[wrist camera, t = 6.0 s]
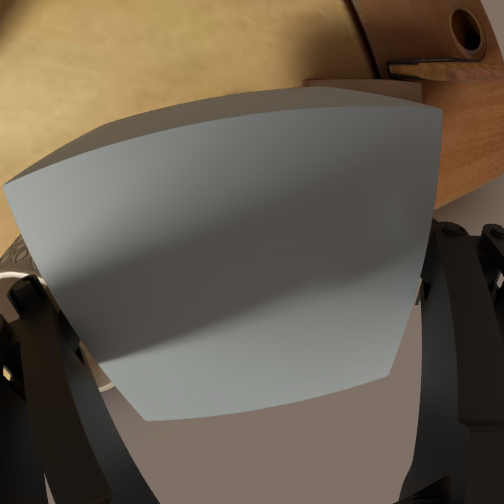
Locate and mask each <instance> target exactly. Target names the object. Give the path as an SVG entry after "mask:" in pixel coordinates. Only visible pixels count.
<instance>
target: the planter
mask: <svg viewBox="0 0 504 504" xmlns="http://www.w3.org/2000/svg"><path fill="white" fill-rule="evenodd" d="M32 274H34V275H37V277H38V279H39V281H40V283H41V284H42V286H43V288H44V290H45V289H46V287H47V285H46V283H45V281H44V279H43V277H42V275H41V274H40V272H39V270H38V268H37V266H36V264H35V262H34V260H33V258H32V256H31V254H30V252H29V250H28V248H27V246H26V243H25V241H24V239H23V237H22V235H21V234H20V235H19V236H18V237H17V239H16V240H15V241H14V242H13V243H12V245H11V246H10V247H9V248H8V249H7V251H6V252H5V253H4V254H3V255H2V257H1V258H0V314H2V315H3V316H4V318H5V319H6V321H7V322H8V323H10V322H12V321H14V320H17V319H19V315H18V313H17V312H16V310H15V309H14V307H13V305H12V304H11V302H10V301H9V299H8V297H7V293H8V291H9V289H10V288H11V286H12V285H13V284H15V283H16V282H17V281H18V280H20V279H21V278H23V277H25V276H27V275H32ZM79 345H80V346H81V348H82V349H83V351H84V352H85V355H86V358H87V361H88V363H89V366H90V369H91V371H92V374H93V377H94V379H95V382H96V384H97V387H98V389H99V391H100V392H101V391H105V390H107V389H110V388H112V387H114V386H115V385H114V384H113V383H112V381H111V380H110V379H109V378H108V376H107V375H106V374H105V372H104V371H103V370H102V369H101V367H100V366H99V365H98V363H97V362H96V361H95V359H94V358H93V357H92V355H91V354H90V352H89V351H88V350H87V348H86V347H85V345H84V344H83V342H82V341H81V340H80V343H79Z"/></svg>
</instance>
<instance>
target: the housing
mask: <svg viewBox="0 0 504 504" xmlns="http://www.w3.org/2000/svg"><path fill="white" fill-rule="evenodd" d="M441 137H442V109H440V108H436V107H432V106H429V105H425V104H421V103H417V102H413V101H408V100H404V99H399V98H394V97H390V96H384V95H379V94H374V93H368V92H362V91H355V90H348V89H341V88H333V87H324V86H321V87H300V88H286V89H275V90H265V91H256V92H248V93H240V94H233V95H227V96H220V97H214V98H209V99H203V100H198V101H193V102H188V103H183V104H178V105H174V106H169V107H165V108H161V109H157V110H153V111H149V112H145V113H141V114H137V115H134V116H130V117H127V118H123V119H120V120H116V121H113V122H110V123H107V124H104V125H102V126H100V127H98V128H96V129H94V130H92V131H90V132H88V133H86V134H84V135H82V136H81V137H79V138H77V139H75V140H73V141H71V142H70V143H68V144H66V145H64V146H63V147H61V148H59V149H57V150H56V151H54V152H52V153H51V154H49V155H47V156H46V157H44V158H42V159H41V160H39V161H38V162H36V163H35V164H33V165H31V166H30V167H28V168H27V169H25V170H24V171H22V172H21V173H19V174H18V175H17V176H15V177H14V178H12V179H11V180H9V181H8V182H7V183H5V184H4V185H3V186H2V187H3V190H4V193H5V195H6V198H7V201H8V203H9V206H10V209H11V211H12V214H13V216H14V218H15V221H16V223H17V226H18V228H19V230H20V232H21V235H22V237H23V239H24V241H25V243H26V246H27V248H28V250H29V252H30V254H31V256H32V258H33V260H34V262H35V264H36V266H37V268H38V270H39V272H40V274H41V275H42V277H43V279H44V281H45V283H46V285H47V286H48V288H49V290H50V292H51V294H52V295H53V297H54V299H55V300H56V302H57V304H58V305H59V307H60V309H61V310H62V312H63V314H64V315H65V317H66V318H67V320H68V321H69V323H70V325H71V326H72V328H73V329H74V331H75V332H76V334H77V335H78V337H79V338H80V340H81V341H82V342H83V344H84V345H85V347H86V348H87V350H88V351H89V352H90V354H91V355H92V357H93V358H94V359H95V361H96V362H97V363H98V365H99V366H100V367H101V369H102V370H103V371H104V372H105V374H106V375H107V376H108V378H109V379H110V380H111V381H112V383H113V384H114V385H115V386H116V387H117V388H118V390H119V391H120V392H121V394H122V395H123V396H124V397H125V398H126V399H127V401H128V402H129V403H130V404H131V405H132V406H133V407H134V408H135V410H136V411H137V412H138V413H139V414H140V415H141V416H142V417H143V418H144V419H145V421H161V420H176V419H189V418H200V417H209V416H217V415H225V414H232V413H239V412H245V411H252V410H257V409H263V408H268V407H274V406H279V405H284V404H288V403H293V402H297V401H301V400H306V399H310V398H314V397H318V396H322V395H326V394H330V393H334V392H337V391H341V390H344V389H348V388H351V387H354V386H357V385H361V384H364V383H367V382H370V381H373V380H376V379H379V378H382V377H385V376H388V374H389V371H390V369H391V367H392V364H393V361H394V359H395V356H396V353H397V350H398V347H399V345H400V342H401V339H402V336H403V333H404V330H405V327H406V324H407V321H408V318H409V315H410V311H411V308H412V304H413V301H414V298H415V294H416V290H417V287H418V283H419V279H420V275H421V271H422V267H423V262H424V258H425V254H426V249H427V244H428V239H429V234H430V229H431V223H432V217H433V211H434V205H435V198H436V191H437V183H438V174H439V164H440V152H441Z"/></svg>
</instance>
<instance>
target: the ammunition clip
mask: <svg viewBox="0 0 504 504" xmlns="http://www.w3.org/2000/svg"><path fill="white" fill-rule="evenodd" d="M387 67H388V71H389V76H390V77H397V78H407V79H415V80H427V79H429V80H436V81H455V82H471V81H474V82H479V81H504V68H501V67H498V66H496V65H492V64H487V63H481V62H480V61H475V60H468V59H459V58H419V59H402V60H390V61H387Z"/></svg>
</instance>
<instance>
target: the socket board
mask: <svg viewBox="0 0 504 504" xmlns="http://www.w3.org/2000/svg"><path fill="white" fill-rule="evenodd" d="M303 85H304V87H321V86H324V87H333V88H341V89H348V90H355V91H362V92H368V93H374V94H379V95H384V96H390V97H394V98H399V99H404V100H408V101H413V102H417V103H421V104H422V83H419V82H413V81H406V80H390V79H320V80H303Z"/></svg>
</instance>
